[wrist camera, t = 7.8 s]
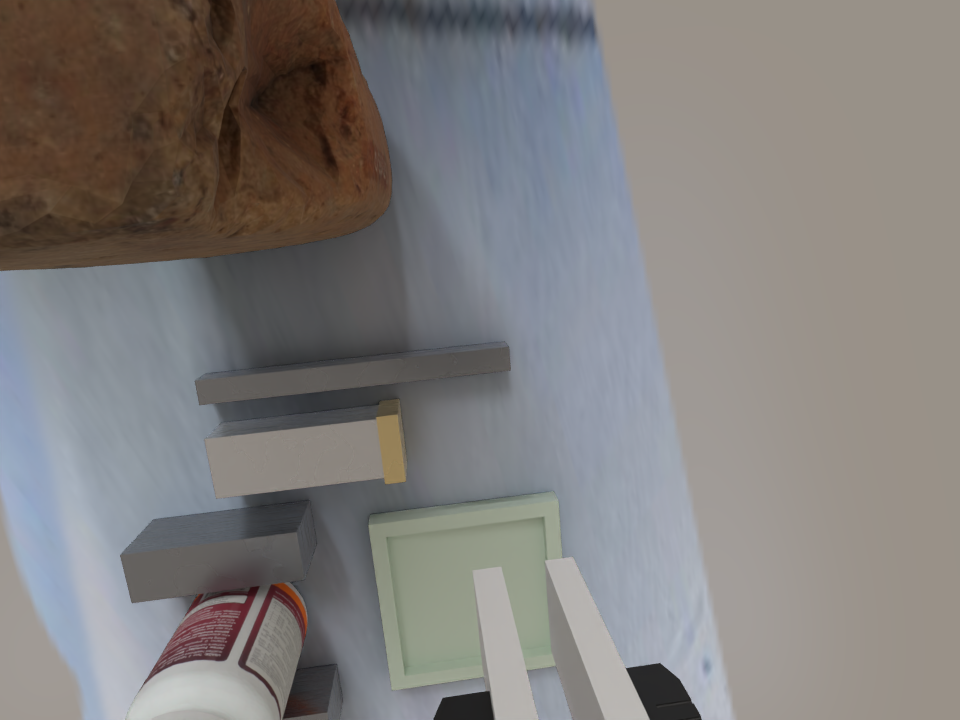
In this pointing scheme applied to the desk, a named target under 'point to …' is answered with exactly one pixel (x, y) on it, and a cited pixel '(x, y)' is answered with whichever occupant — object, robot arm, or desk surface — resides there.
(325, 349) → the desk surface
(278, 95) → the block
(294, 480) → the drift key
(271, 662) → the pill bottle
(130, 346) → the desk surface
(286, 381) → the rail
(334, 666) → the socket
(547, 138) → the desk surface
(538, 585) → the tray
